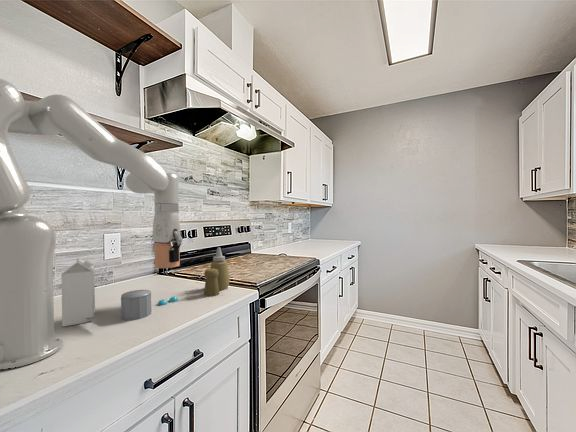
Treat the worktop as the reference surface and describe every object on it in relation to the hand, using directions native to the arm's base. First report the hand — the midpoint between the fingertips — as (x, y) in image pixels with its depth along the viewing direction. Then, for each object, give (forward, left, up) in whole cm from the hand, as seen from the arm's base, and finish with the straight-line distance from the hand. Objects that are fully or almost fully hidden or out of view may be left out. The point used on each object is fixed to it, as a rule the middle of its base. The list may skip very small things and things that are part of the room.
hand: (167, 260), depth 91 cm
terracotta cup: (0, 0, -2) cm, 2 cm away
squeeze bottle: (+21, -1, -16) cm, 27 cm away
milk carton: (-22, +11, -16) cm, 29 cm away
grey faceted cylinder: (-12, -3, -16) cm, 20 cm away
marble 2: (+2, 0, -14) cm, 14 cm away
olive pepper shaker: (+14, -5, -16) cm, 22 cm away
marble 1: (-2, 0, -14) cm, 14 cm away
